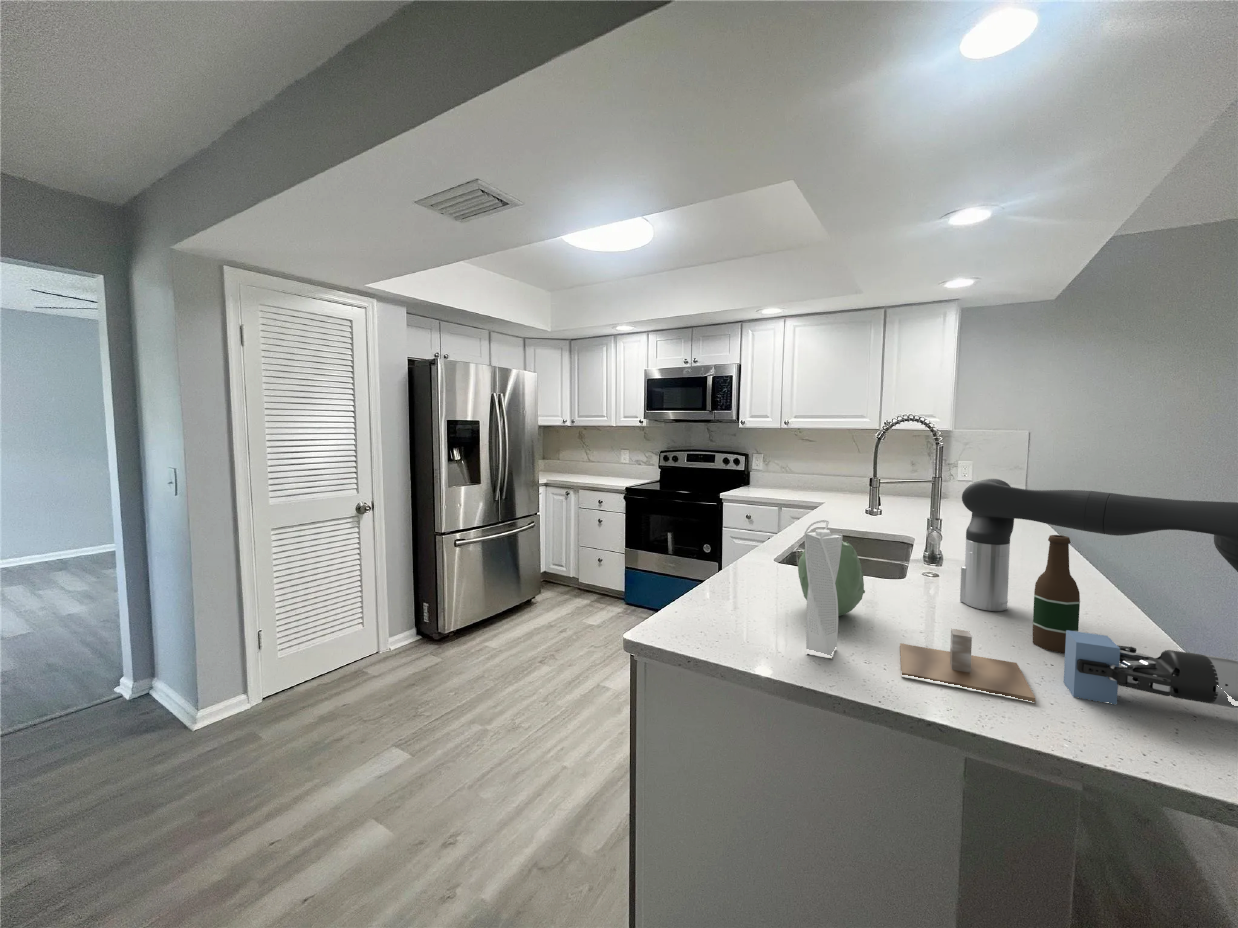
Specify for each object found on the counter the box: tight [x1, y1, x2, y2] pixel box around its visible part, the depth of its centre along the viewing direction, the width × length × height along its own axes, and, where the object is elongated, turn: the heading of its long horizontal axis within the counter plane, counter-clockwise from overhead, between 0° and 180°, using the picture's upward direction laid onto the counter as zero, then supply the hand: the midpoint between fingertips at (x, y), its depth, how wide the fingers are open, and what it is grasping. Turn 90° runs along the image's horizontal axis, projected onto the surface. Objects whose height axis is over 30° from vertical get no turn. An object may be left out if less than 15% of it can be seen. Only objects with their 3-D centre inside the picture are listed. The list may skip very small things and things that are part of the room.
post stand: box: [899, 628, 1036, 703], centre depth 96 cm, size 20×14×8 cm
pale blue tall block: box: [1063, 630, 1120, 705], centre depth 88 cm, size 6×6×10 cm
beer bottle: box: [1032, 534, 1081, 654], centre depth 105 cm, size 8×8×24 cm
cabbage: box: [797, 540, 866, 617], centre depth 126 cm, size 16×19×20 cm
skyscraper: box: [804, 519, 843, 656], centre depth 105 cm, size 8×8×28 cm
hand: (1072, 657), depth 89 cm, fingers closed on pale blue tall block, 5 cm apart
